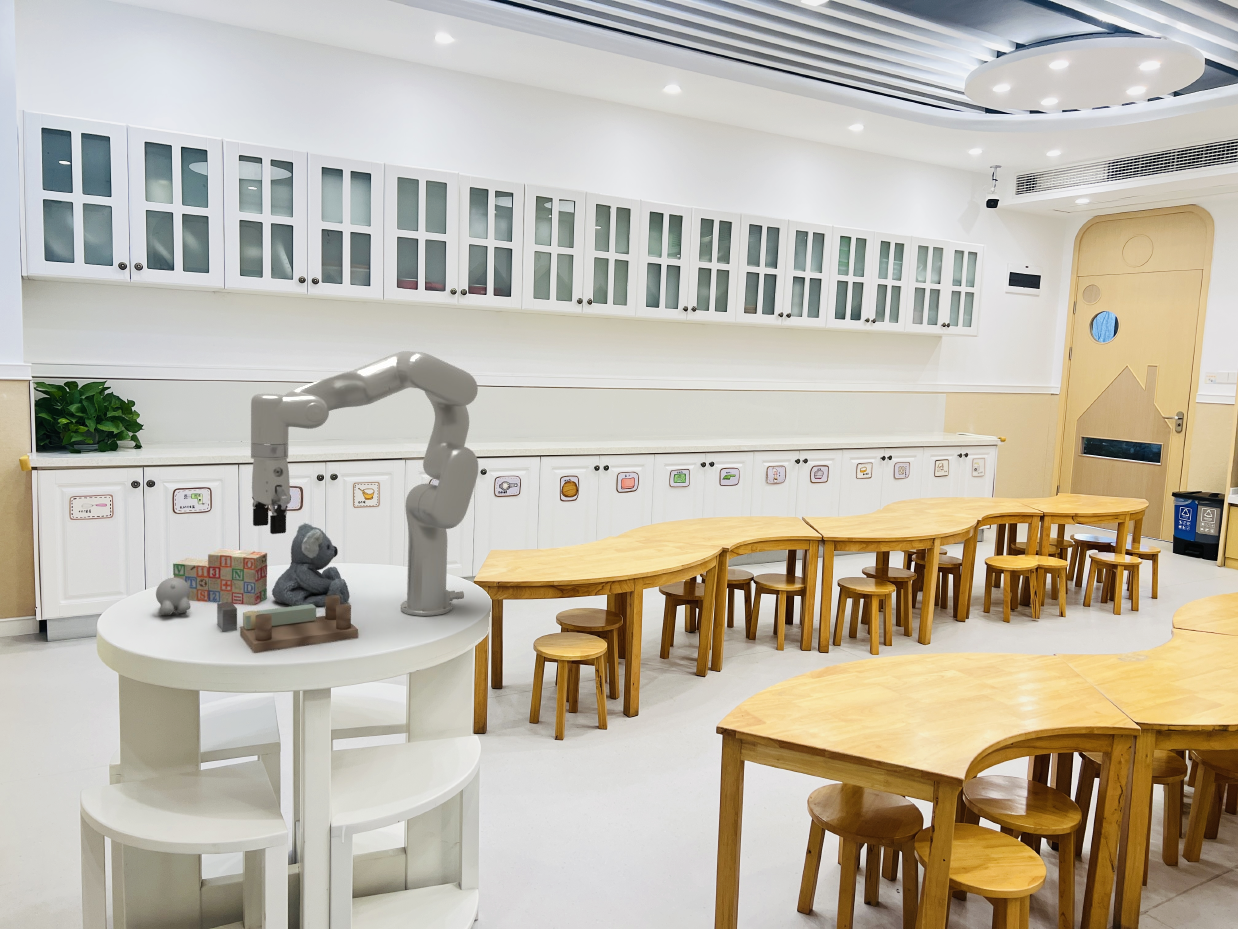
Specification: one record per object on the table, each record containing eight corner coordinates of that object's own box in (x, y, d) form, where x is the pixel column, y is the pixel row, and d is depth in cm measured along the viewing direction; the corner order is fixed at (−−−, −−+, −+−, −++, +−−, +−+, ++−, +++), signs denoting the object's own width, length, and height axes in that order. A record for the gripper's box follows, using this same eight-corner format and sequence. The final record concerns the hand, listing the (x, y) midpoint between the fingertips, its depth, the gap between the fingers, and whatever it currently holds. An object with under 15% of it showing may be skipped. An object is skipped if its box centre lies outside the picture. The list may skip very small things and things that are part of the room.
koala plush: (351, 607, 219) (352, 530, 216) (274, 613, 211) (274, 533, 209) (341, 589, 234) (342, 517, 232) (269, 594, 226) (269, 519, 224)
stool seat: (339, 622, 206) (340, 593, 205) (358, 637, 196) (358, 607, 195) (240, 635, 193) (240, 604, 193) (253, 653, 183) (253, 620, 182)
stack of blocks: (172, 599, 218) (172, 551, 216) (187, 593, 224) (186, 546, 222) (255, 606, 216) (255, 557, 214) (267, 599, 222) (267, 551, 221)
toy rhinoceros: (185, 616, 213) (183, 581, 215) (193, 610, 203) (191, 574, 205) (152, 620, 209) (150, 584, 211) (159, 613, 199) (157, 576, 201)
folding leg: (245, 630, 190) (245, 615, 190) (242, 625, 193) (242, 611, 193) (316, 620, 199) (316, 607, 199) (312, 617, 202) (312, 603, 201)
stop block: (231, 622, 202) (231, 601, 201) (237, 630, 197) (237, 608, 196) (217, 624, 200) (217, 603, 199) (222, 632, 195) (222, 610, 194)
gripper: (303, 455, 185) (302, 534, 187) (271, 446, 198) (271, 521, 200) (267, 456, 180) (267, 538, 182) (237, 447, 193) (237, 524, 195)
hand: (269, 529), depth 191 cm, fingers open, 9 cm apart
